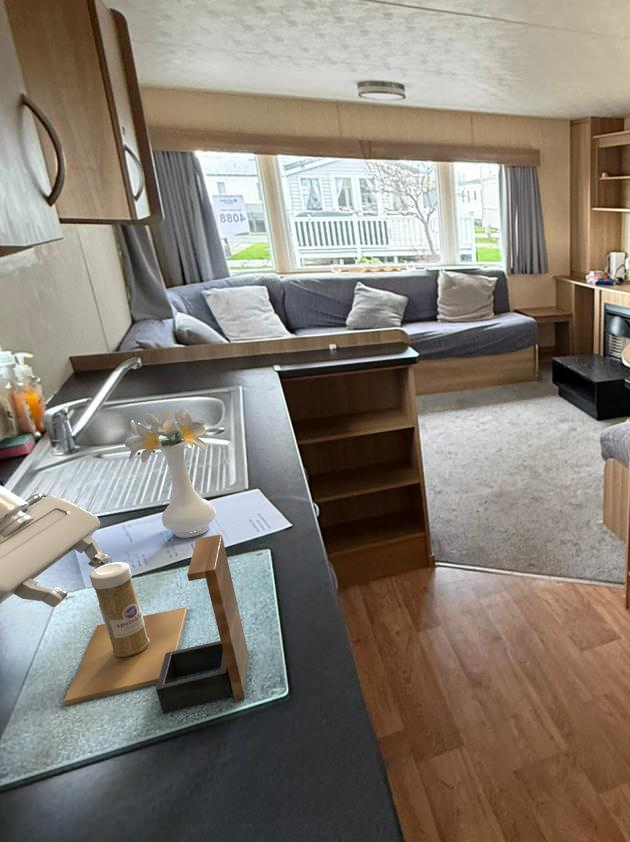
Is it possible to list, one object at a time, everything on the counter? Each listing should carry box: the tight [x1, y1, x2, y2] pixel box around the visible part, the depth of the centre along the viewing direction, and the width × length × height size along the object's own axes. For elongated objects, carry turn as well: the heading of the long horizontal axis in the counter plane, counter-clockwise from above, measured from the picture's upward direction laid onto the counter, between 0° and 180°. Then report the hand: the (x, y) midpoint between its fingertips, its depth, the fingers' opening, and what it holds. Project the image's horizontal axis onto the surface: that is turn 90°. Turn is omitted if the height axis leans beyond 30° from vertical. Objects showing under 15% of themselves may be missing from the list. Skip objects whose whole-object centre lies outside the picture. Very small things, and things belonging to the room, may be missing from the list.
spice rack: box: [155, 533, 249, 715], centre depth 86 cm, size 10×10×20 cm
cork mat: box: [63, 606, 188, 706], centre depth 96 cm, size 12×18×1 cm, turn 24°
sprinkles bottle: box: [89, 561, 150, 657], centre depth 93 cm, size 5×5×14 cm
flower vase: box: [124, 407, 217, 539], centre depth 127 cm, size 13×18×25 cm
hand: (84, 582), depth 91 cm, fingers open, 8 cm apart
